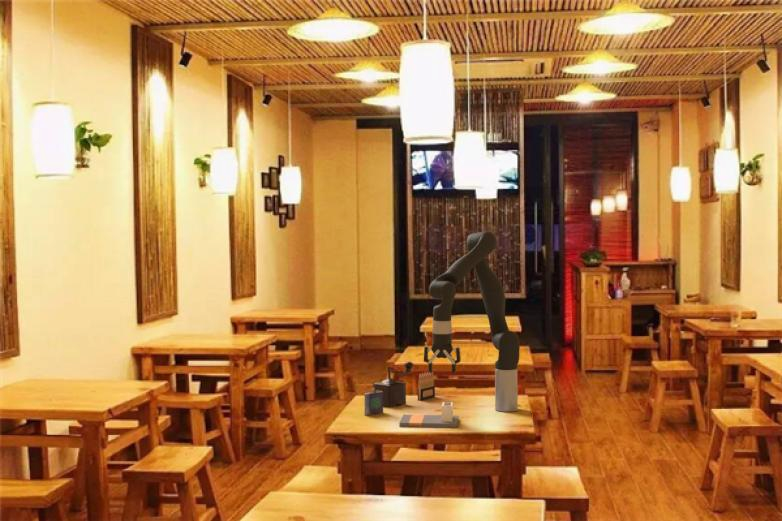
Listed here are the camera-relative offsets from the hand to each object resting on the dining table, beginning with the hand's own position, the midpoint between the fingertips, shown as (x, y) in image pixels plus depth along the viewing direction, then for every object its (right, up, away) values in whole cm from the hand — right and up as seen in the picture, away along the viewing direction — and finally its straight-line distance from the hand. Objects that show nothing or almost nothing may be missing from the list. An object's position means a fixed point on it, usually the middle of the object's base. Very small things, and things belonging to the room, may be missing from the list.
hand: (442, 373), depth 366 cm
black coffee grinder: (-19, -18, +38) cm, 46 cm away
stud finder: (+2, -18, -2) cm, 18 cm away
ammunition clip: (-4, -17, +49) cm, 52 cm away
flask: (-27, -19, +17) cm, 37 cm away
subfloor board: (-5, -19, -1) cm, 20 cm away
